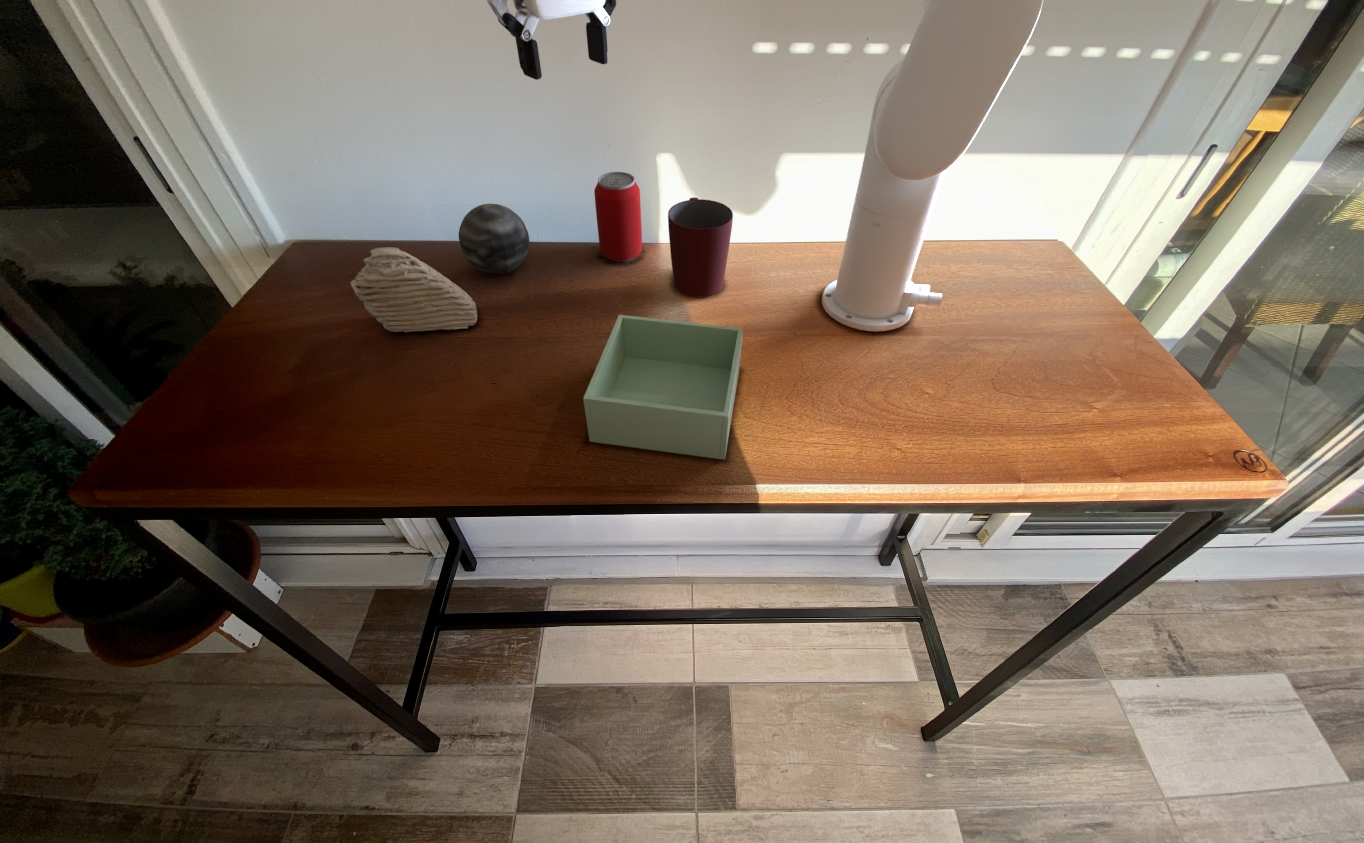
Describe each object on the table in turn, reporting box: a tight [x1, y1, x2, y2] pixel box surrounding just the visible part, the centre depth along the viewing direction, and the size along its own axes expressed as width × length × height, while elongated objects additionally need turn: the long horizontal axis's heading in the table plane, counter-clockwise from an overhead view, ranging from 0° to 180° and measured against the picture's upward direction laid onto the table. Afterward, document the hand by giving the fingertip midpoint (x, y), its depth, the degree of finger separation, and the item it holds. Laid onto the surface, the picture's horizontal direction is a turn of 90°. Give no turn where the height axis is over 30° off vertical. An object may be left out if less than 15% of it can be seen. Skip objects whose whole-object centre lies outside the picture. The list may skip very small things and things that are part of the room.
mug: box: [667, 197, 734, 298], centre depth 86 cm, size 12×9×11 cm
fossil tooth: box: [349, 246, 478, 333], centre depth 78 cm, size 12×6×15 cm
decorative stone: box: [458, 203, 530, 275], centre depth 88 cm, size 10×10×10 cm
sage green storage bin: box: [582, 314, 744, 461], centre depth 68 cm, size 15×15×7 cm
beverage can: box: [593, 171, 643, 262], centre depth 91 cm, size 7×7×12 cm
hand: (566, 69), depth 73 cm, fingers open, 9 cm apart
